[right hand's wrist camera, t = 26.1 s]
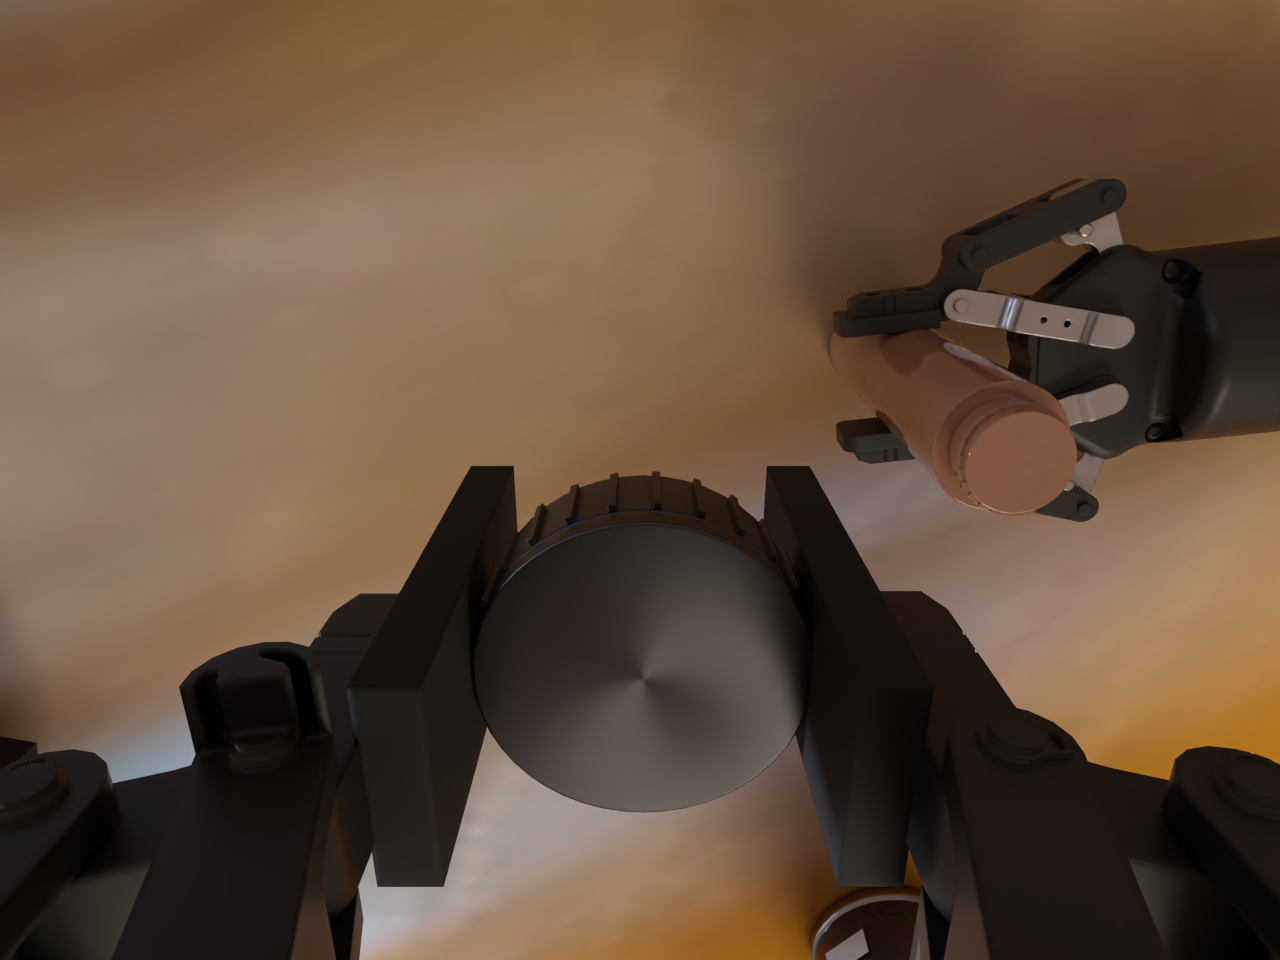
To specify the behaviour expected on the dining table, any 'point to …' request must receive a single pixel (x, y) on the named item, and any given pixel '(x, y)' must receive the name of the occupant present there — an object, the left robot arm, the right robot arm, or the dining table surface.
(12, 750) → the mechanical component
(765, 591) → the lid
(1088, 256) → the left robot arm
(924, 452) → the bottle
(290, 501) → the dining table surface
